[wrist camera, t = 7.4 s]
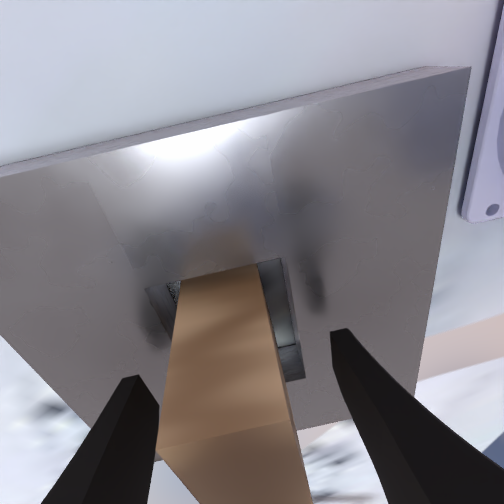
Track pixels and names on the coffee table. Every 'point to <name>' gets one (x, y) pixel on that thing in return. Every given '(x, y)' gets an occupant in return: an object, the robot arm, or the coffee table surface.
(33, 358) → the collar plate
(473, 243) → the coffee table surface
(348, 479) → the coffee table surface
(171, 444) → the tan cardboard box
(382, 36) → the coffee table surface
